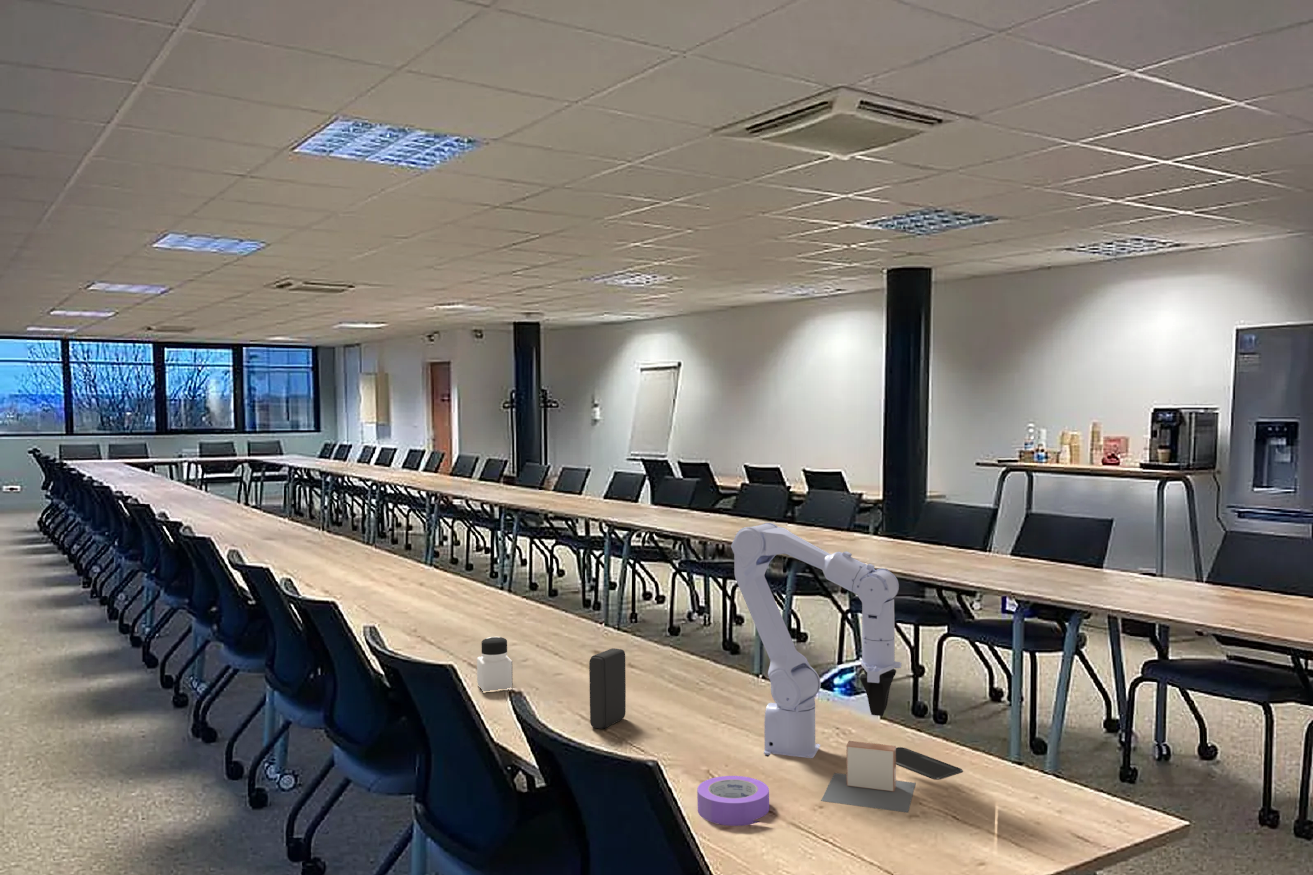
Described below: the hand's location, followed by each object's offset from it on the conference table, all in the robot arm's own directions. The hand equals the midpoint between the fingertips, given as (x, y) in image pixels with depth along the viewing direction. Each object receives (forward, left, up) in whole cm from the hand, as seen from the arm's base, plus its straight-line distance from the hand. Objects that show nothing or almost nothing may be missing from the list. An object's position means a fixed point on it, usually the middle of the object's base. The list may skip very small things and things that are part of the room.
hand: (878, 712), depth 170 cm
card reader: (-57, +8, -11) cm, 59 cm away
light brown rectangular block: (0, -10, -10) cm, 14 cm away
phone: (+6, +4, -11) cm, 13 cm away
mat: (0, -12, -10) cm, 16 cm away
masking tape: (-20, -26, -11) cm, 35 cm away
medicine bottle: (-93, +23, -11) cm, 96 cm away
